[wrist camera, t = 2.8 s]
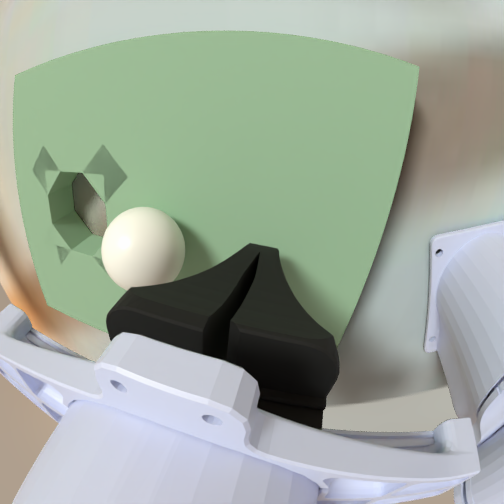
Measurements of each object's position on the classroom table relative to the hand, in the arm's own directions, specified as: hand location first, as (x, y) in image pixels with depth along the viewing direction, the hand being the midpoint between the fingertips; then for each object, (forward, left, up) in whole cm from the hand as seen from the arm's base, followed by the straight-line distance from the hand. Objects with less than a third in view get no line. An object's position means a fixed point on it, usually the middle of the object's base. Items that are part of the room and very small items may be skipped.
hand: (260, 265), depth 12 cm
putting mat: (+3, +6, -4) cm, 8 cm away
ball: (+2, +5, +1) cm, 5 cm away
